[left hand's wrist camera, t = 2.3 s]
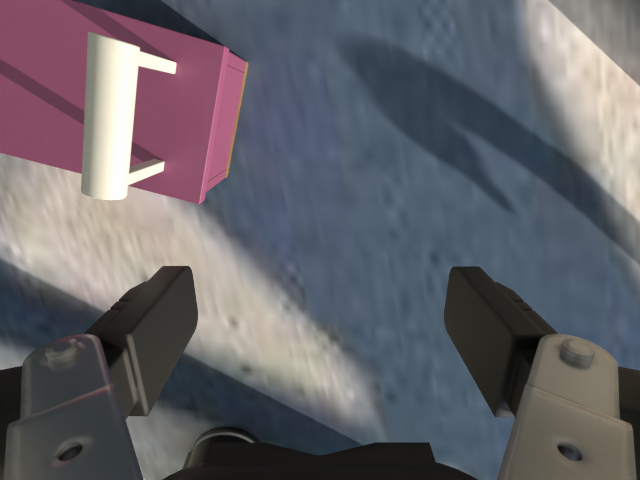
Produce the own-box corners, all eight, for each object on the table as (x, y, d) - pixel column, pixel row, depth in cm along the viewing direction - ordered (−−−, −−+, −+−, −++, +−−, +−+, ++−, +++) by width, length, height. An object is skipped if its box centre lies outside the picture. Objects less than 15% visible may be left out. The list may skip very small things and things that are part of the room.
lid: (229, 49, 23) (180, 16, 15) (204, 200, 26) (153, 242, 18) (5, -19, 21) (-186, -96, 13) (9, 149, 25) (-140, 170, 17)
